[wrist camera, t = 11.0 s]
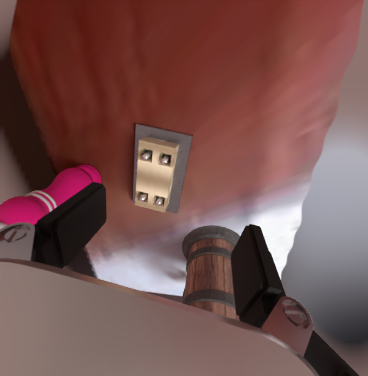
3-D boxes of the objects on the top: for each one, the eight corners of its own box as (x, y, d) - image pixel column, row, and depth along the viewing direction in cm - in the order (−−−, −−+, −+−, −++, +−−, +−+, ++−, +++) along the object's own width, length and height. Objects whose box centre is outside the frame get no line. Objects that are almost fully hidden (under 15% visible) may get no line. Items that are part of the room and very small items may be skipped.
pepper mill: (109, 185, 41) (28, 248, 23) (86, 192, 43) (-4, 255, 25) (92, 157, 38) (-13, 205, 20) (69, 166, 40) (-45, 216, 22)
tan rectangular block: (146, 136, 33) (139, 139, 30) (179, 144, 33) (175, 148, 29) (141, 196, 39) (134, 204, 36) (168, 203, 39) (164, 212, 36)
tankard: (200, 214, 40) (189, 301, 23) (261, 244, 41) (297, 350, 24) (163, 269, 51) (137, 356, 33) (213, 292, 52) (212, 388, 35)
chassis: (137, 123, 33) (124, 126, 28) (192, 135, 32) (189, 141, 28) (134, 200, 41) (123, 213, 37) (177, 211, 41) (172, 225, 36)
